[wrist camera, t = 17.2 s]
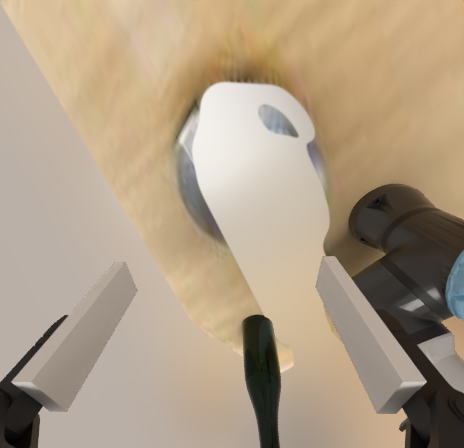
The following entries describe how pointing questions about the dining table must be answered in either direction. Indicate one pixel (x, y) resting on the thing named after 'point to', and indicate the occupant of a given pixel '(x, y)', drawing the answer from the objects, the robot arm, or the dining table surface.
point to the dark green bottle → (262, 376)
